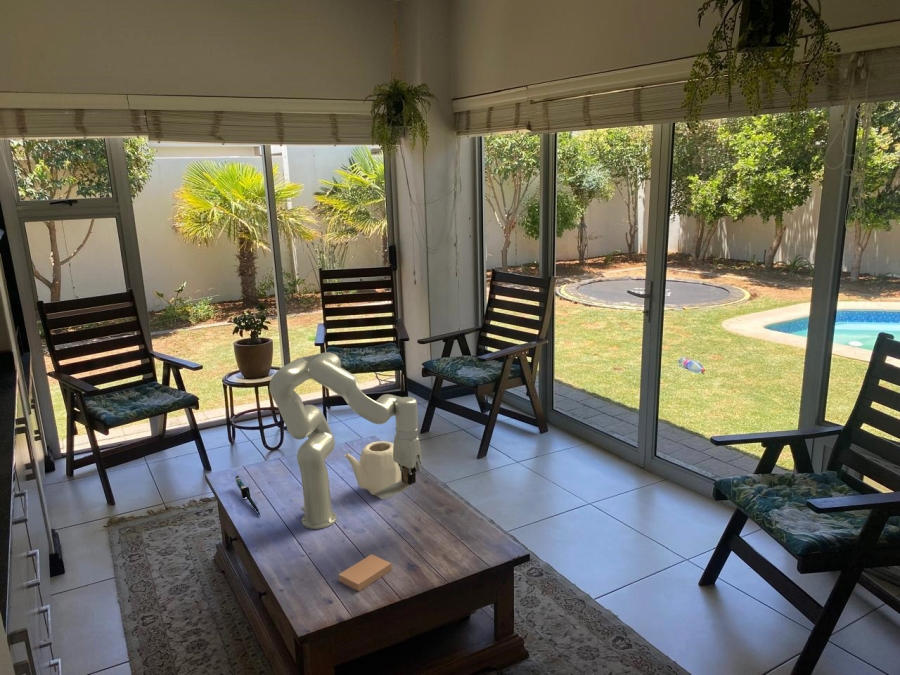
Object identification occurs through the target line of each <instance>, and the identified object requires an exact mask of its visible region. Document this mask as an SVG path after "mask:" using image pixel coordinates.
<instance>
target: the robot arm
mask: <svg viewBox="0 0 900 675" xmlns="http://www.w3.org/2000/svg"><path fill="white" fill-rule="evenodd" d="M308 380H313V381H315V382H316V383H317V384H319V385H321V386H322V387H325V389H326V388H327V389H328V390H330V391H331V392H333V393H335V394H337V395H338V396H340V397H342V398H343V399H344V401H345V402H346V404H347V405H348V407H350V409H351V410H352V411H353V412H354V413H356V415H358V416H360V417H361V418H363V419H364V420H367V421H368V422H370V423H372V424H375V425H384V424H385V423H387V422H389V420H390V419H392V418H391V417H394V416H395V428H394V429H395V435H394V438H393V460H394V461H395V462H396V463H398V465H399V467H400V471H401V477H402V480H401V481H402V482H403V470H402V468H404V467H408V470H409V474H408V484H409V485H410V486H411V485H414V484H415V482H416V483H417V479H416V480H415V473H416V474H417V472H419V471H421V470H423V467H422V449H421V448H422V447H421V442H420V438H419V425H418V424H419V422H418V421H419V420H418V419H419V417H418V401H417V399H415V397H411V396H403V397H402V396H398V395H394V394H388V393H386V394H382V395H381V396H379V397H378V398H377V399H376V400H374V399H372V398H371V397H369V396H367V395H366V394H365V393H364V392H363V391H362V389H361V388H360V386H359V380H358V377H357V375H355V374H353V373H351V372H350V371H348V370H346V369H345V368H343V367H342V361H341V359H340V357H339V356H338V355H337V354H335V353H333V352H329V351H328V352H327V351H325V352H321V353H316V354H312V355H306V356H301V357H298V358H296V359H294V360H292V361H290V362H288V363H287V364H285V365H284V366H282V367H281V368H280V369H278V370H277V371H276V372H275V373H274V374H273V375H272V377H271V379H270V382H269V387H268V388H269V393H270V396H271V398H272V399H273V401H274V403H275V404H276V407H277V408H278V410H279V413H280V415H281V417H282V419H283V421H284V424H285V426H286V428H287V430H288V433H289V434H290V435H291V437H293V438H294V439H295V440H305V438H307V439H306V440H305V441H304V442H303V443H302V444H301V445H300V446H299V448H298V450H297V453H296V460H297V464H298V467H299V471H300V477H301V486H302V495H303V504H304V505H303V506H301V508H300V510H301V511H302V512H303V513H304V516H303V517H302V519H301V525H302V526H303V527H305V528H306V529H311V530H319V529H324V528H328V527H330V526H331V525H333V524H334V523H336V521H337V518H338V517H337V514H336V512H334V511H332V510H333V509H332V501H331V500H332V499H331V489H330V480H329V479H330V478H329V472H328V469H327V466H326V463H325V461H326V459H327V458H328V457H329V455H330V454H332V452H333V450H334V449H335V445H336V441H335V437H334V435H333V432H332V430H331V428H330V426H329V423H328V421H327V419H326V417H325V415H324V413H323V412H322V411H321V409H320V408H319V407H317V406H315V405H313V404H306V405H305V404H304V403H303V400H302V398H301V397H300V395H299V394H298V393H297V392H296V391H295V389H297V387H299V386H300V385H302V384H304V383H305V382H307V381H308ZM412 468H413V469H412Z"/></svg>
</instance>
